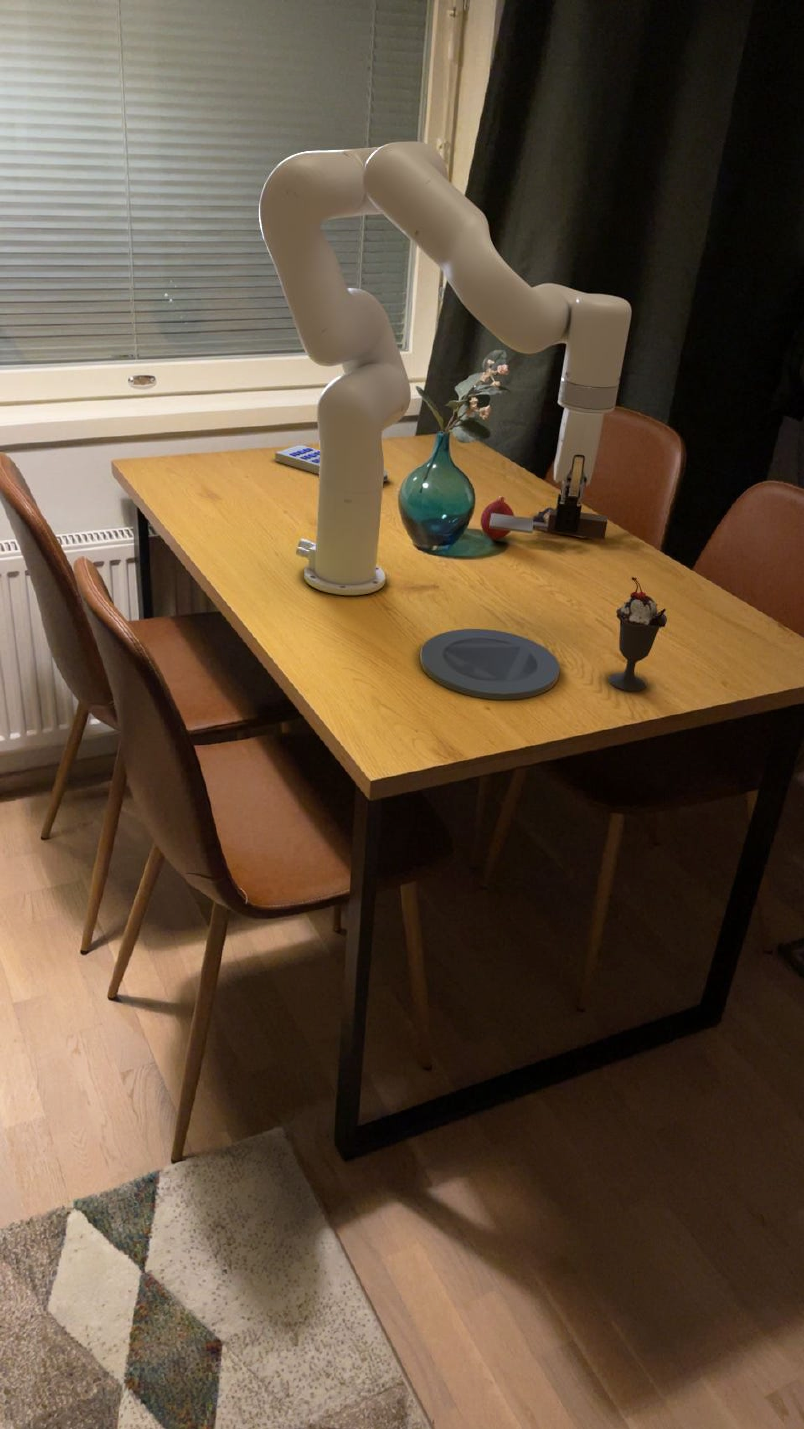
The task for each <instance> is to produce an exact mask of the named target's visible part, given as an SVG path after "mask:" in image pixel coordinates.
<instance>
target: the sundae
mask: <svg viewBox="0 0 804 1429" xmlns="http://www.w3.org/2000/svg"><path fill="white" fill-rule="evenodd" d="M631 581H633V582H634V583H635V585H636V589H635V590H634V591H632V592H631V593H630V596H629V597H630V598H629V599H628V600H626V601H625V602H624V603H623V605H621V607H620V608H618V609H617V610H616V611H615V613H616V618H617V619H618V620H619V637H618V648H619V649H618V650H619V652H620V654H621V656H623V658H625V660H626V666H625V668H624V671H623V672H618V673H613V674H612V675H610V676H609V677H608V678H609V679H608V680H609V683H610V685H611V686H613V687H614V688H617V689H619V690H621V691H625V692H640V691H642V690H644V689H645V688H646V682H645V681H644V680H643V679H642V678H641V677H639V676H637V675H635V668H636V664H637V663H638V662H640V661H642V660H644V659H645V658H646V657H648V656H649V654H650V652H651V650H652V648H653V645H654V644H655V643H654V642H655V640H656V637H657V635H658V632H659V630H660V629H661V628H665V627H666V625H667V622H668V618H667V616H666V614H665V612H666V610H667V609H666V608H663V609H662V610H660V611H659V610H658V604H657V603H656V601H655V600H654V598H652V597H651V596H649V595H647V594H646V592H644V591H642V587H641V585H640V582H639V581H638V578H637V577H634V576H631ZM638 590H639V592H638Z"/></svg>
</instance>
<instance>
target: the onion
mask: <svg viewBox="0 0 804 1429" xmlns="http://www.w3.org/2000/svg"><path fill="white" fill-rule="evenodd" d="M505 499H506V498H505V497H504V496H503V495H499V496H498V497H497V499H496V500H494V501H492V502H491V503H489V504H488V505H487V506H486V507H485V508H484V509H483V511H482V513H481V516H480V526H481V530H482V531H483V533H484V534H485V535H486V536H487V537H488V538H489V539H490V540H492V541H493V542H498V541H499V540H501V539H503V538H504V537H506V536H508V535H509V534H510V533H511V531H508V530H500V529H492V528H489V525H490V519H491V513H494V514H502V515H510V516H515V514H514V511H513V509H512V508H511V506H510V505H509V504H508V503H507V502H505Z"/></svg>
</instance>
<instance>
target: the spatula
mask: <svg viewBox="0 0 804 1429" xmlns="http://www.w3.org/2000/svg"><path fill="white" fill-rule="evenodd" d="M556 514H557V509H550V510H549V517H548V523H540V522H533V518H534V517H525V516H516V515H514V516H510V515H502V514H494V513H491V519H490V525H489V528H492V529H500V530H508V531H510V532H515V533H525V534H533V531H534V530H538V531H545V530H547V531H546V533H551V534H558V535H565V536H566V535H567V536H572V535H574V536H573V537H578V536H582V537H586V538H589V539H590V538H591V539H598V540H599V539H600V540H605V537H606V532H607V526H608V516H607V515H604V514H599V513H598V514H597V513H588V512H582V511H581V514H580V520H579V525H578V531H577V532H576V533H569V532H562V531H556V530H555V529H554V526H555V520H556Z"/></svg>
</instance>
